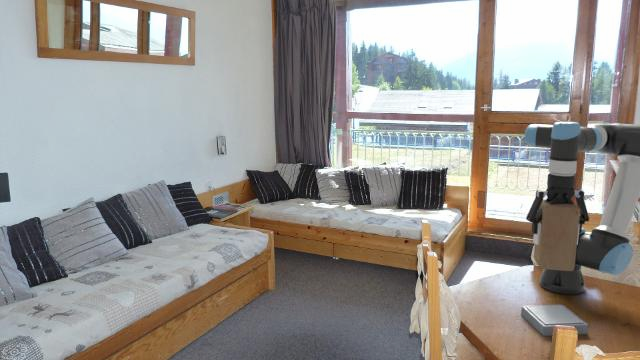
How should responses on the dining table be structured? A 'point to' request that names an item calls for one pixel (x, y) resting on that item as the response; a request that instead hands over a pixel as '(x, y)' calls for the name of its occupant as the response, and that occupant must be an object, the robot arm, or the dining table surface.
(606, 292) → the dining table surface
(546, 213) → the wooden block
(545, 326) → the slate tray
